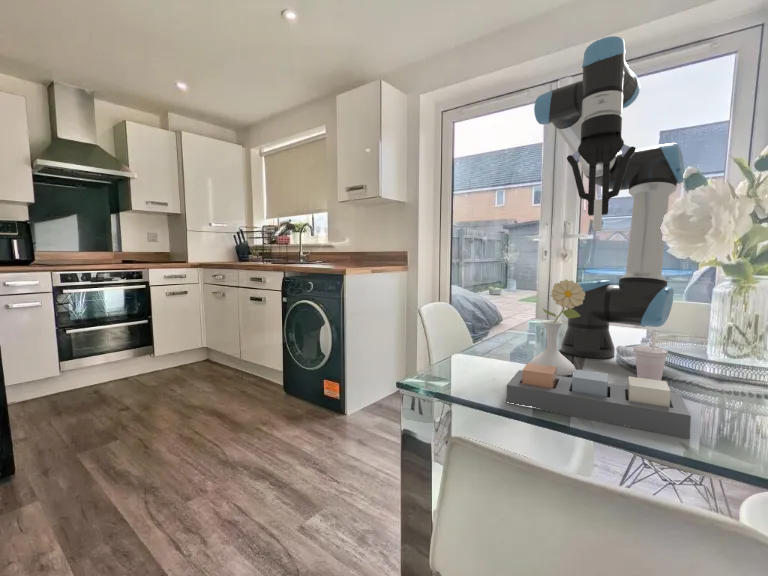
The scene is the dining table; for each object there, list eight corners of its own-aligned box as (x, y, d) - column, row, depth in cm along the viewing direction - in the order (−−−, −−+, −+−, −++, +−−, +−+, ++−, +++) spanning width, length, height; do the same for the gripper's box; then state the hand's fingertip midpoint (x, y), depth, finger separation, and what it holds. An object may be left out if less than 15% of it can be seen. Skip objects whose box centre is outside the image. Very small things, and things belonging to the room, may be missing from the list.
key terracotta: (527, 384, 84) (527, 363, 83) (556, 389, 80) (556, 366, 80) (521, 392, 78) (522, 369, 78) (552, 398, 75) (553, 374, 75)
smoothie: (672, 396, 80) (675, 333, 79) (639, 394, 82) (642, 332, 81) (656, 386, 87) (659, 328, 85) (626, 385, 88) (629, 327, 87)
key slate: (574, 392, 79) (574, 369, 78) (607, 397, 75) (607, 373, 75) (571, 401, 74) (572, 376, 73) (606, 407, 70) (607, 382, 70)
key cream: (627, 400, 74) (628, 376, 73) (664, 406, 70) (666, 381, 70) (628, 411, 68) (629, 385, 68) (669, 418, 65) (670, 391, 65)
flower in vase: (524, 376, 95) (526, 280, 94) (531, 365, 105) (533, 277, 103) (582, 384, 89) (585, 281, 87) (583, 371, 99) (586, 278, 97)
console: (518, 386, 88) (518, 370, 87) (678, 413, 72) (679, 393, 71) (506, 403, 77) (506, 384, 77) (689, 438, 62) (690, 415, 61)
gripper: (565, 119, 79) (562, 230, 81) (639, 106, 72) (634, 227, 74) (569, 130, 85) (566, 232, 87) (637, 118, 78) (632, 230, 80)
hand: (597, 230), depth 80 cm, fingers closed
